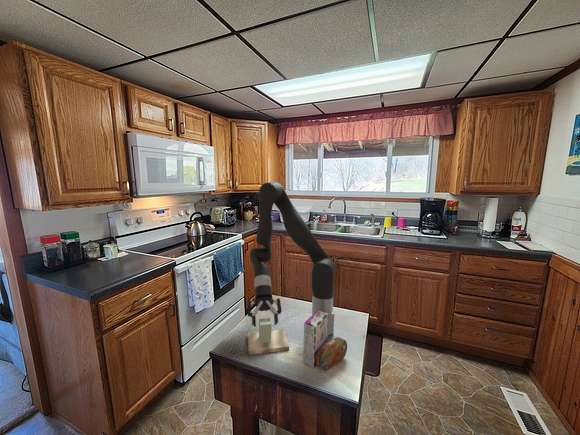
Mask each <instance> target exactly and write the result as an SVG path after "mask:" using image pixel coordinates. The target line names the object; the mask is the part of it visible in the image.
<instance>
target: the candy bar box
mask: <svg viewBox="0 0 580 435" xmlns="http://www.w3.org/2000/svg"><path fill="white" fill-rule="evenodd" d="M303 325H304V328H303V364H305V365H306V366H309V367H311V368H313V369H315V368H316V367H318V366H317V363H316V357H317V353H318V351H319V349H320V348H321V347H322V346H323V345H325V344H326V343H328V337H329V336H328V313H325V312H322V311H319V310H317V311H316V312H315V313H314V314H313V315H312V314H311V316H309V318H308V319H307V320H305V321H304V322H303Z"/></svg>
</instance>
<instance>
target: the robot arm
mask: <svg viewBox="0 0 580 435" xmlns="http://www.w3.org/2000/svg"><path fill="white" fill-rule="evenodd" d="M258 191H259V193H258V203H259V204H258V223H257V224H258V226H257V232H256V237H255V242H256V244H258V245H260V246H262V247H253V248H252V249H251V250H250V251H249V259H250V262H251V265H252V266H253V271H254V281H253V283H254V285H253V286H254V287H253V288H254V300H252V301H251V300H248V301H247V313H246V314H247V317H250V318H251V324H252V326H253V327H254V328H257V320H256V318H257V314H258V313H259V312H264V311H265V312H267V311H270V312H271V313H272V315H273V322H274V326H277V324H278V323H279V315H280V314H282V311H283V310H282V305H281V304H282V303H281V298H277V299H276V298H275V299H274V298H273V292H272V291H273V288H272V281H271V280H272V279H271V273H270V267H269V265H267V264H265V263H270V261H271V260H272V258H273V256H272V247H271V243H272V235H273V228H274V227H273V220H272V219H273V218H272V210H273V207H274V205H275V206H276V208H277V210H278V211H279V212H280V215H281V217H282V221H283V226H284V228H285V229H284V230H286V232H287V234H288V236H290V239H291V240H292V241H293V242H294V244H296V245H297V247H298V248H300V249H301V250H303V251H304V252H305V254H306V255H308V257H309V259H311V262H312V263H313V266H312V269H311V291H312V300H311V301H312V302H311V316H312V315H313V314H314V313H315V312H316V311H317V310H319V311H322V312H325V313H328V337H330V336H331V335H333V334H334V330H335V328H334V327H335V313H334V312H333V310H334V288H333V286H334V276H335V274H336V271H337V270H336V267H337V266H336V263H335V262H334V260H332V259H331V257H330V256H329V255H328V253H327V252H326V251H325V249H324V248H322V246H321V244H320V243H319V242H318V240H317V239H316V237H315V235H314V234H313V232H312V231H311V229H310V227H309V226H308V223H307V222H305V220H304V219H303V217H302V215H300V213H299V212H298V210H297V209H296V207H295V206H294V204H293V202H292V201H291V199H290V197H289V196H288V194H287V192H286V190H285V188H284V187H283V185H282V184H281V183H279V182H277V181H272V182H271V181H269V182H265V183H263V184H261V186H260V187H259V190H258ZM253 305H254V306H255V308H254V311H253V312H251V311H252V310H251V309H252V307H253ZM274 305H276V306H277V307H276V308H277V309H276V308H275V307H274Z"/></svg>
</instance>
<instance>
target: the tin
mask: <svg viewBox="0 0 580 435" xmlns="http://www.w3.org/2000/svg"><path fill="white" fill-rule="evenodd" d="M347 350H348V342H347V341H346V339H344V338H341V337H335V338H333V339H331V340H329V341H327V343H326V344H325V345H323V346H322V347H321V348H320V349H319V351H318V353H317V357H316V363H317V366H316V367H318V368H319V369H321V370H322V371H324V372H327V371H329V370H330V369H332V368H334V367H335V366H336V365H337V364H339V363H340V362H342V361H343V360H344V358H345V357H346V355H347Z"/></svg>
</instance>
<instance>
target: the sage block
mask: <svg viewBox="0 0 580 435" xmlns="http://www.w3.org/2000/svg"><path fill="white" fill-rule="evenodd" d="M271 331H272V321H271V318H270V317H267V318H258V332H259V340H260V344H261V343H269V342H271Z"/></svg>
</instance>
